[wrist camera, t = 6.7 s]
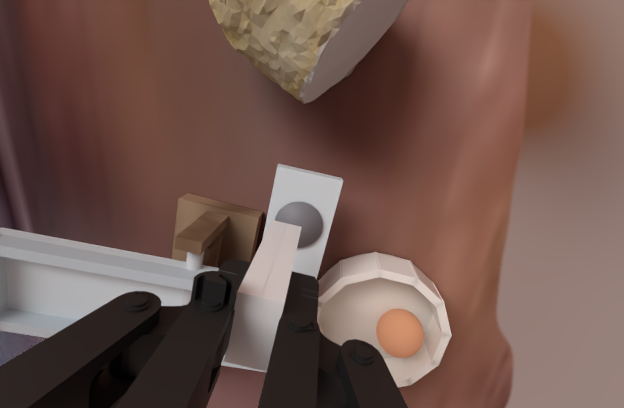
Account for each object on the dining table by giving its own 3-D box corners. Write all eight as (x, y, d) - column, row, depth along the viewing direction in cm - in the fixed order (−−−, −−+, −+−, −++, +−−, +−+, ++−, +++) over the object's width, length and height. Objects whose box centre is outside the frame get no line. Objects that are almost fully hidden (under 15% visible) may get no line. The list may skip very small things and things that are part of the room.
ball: (397, 375, 23) (423, 359, 26) (413, 335, 22) (439, 322, 25) (361, 342, 26) (388, 330, 28) (374, 305, 25) (401, 295, 27)
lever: (7, 326, 23) (-32, 357, 20) (-3, 100, 19) (-55, 100, 16) (289, 370, 25) (288, 404, 22) (341, 177, 21) (348, 189, 18)
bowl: (298, 344, 29) (294, 371, 26) (327, 238, 26) (326, 255, 23) (413, 373, 29) (422, 403, 26) (456, 270, 26) (471, 291, 23)
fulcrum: (170, 321, 29) (125, 380, 23) (187, 193, 26) (139, 221, 19) (237, 338, 29) (210, 401, 23) (263, 211, 26) (239, 245, 19)
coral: (330, 168, 17) (157, 7, 12) (304, 100, 25) (193, -15, 20) (496, 28, 14) (363, -269, 9) (407, 1, 22) (308, -165, 17)
